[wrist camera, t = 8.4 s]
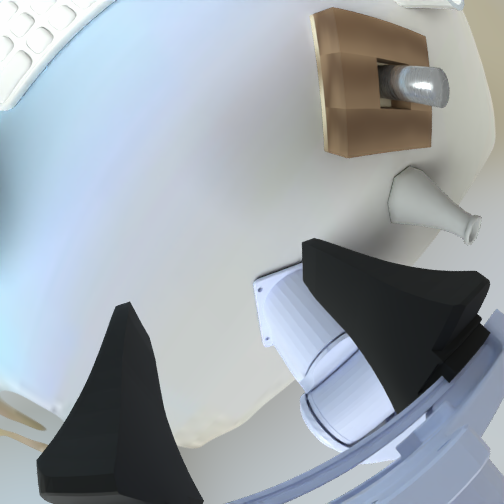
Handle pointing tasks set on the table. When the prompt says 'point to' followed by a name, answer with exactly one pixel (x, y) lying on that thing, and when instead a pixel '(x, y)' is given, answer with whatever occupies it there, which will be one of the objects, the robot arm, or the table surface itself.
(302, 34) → the table surface
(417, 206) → the flask
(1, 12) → the calculator
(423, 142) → the bore block
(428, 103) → the pin
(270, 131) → the table surface
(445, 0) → the shot glass
